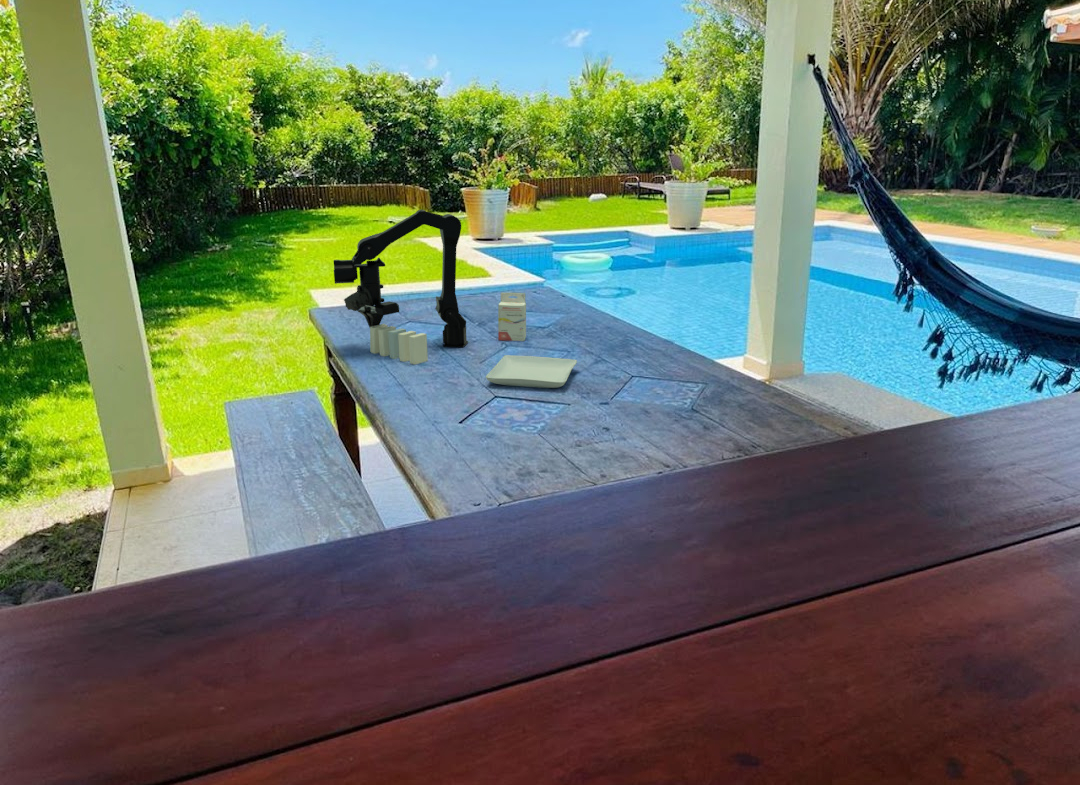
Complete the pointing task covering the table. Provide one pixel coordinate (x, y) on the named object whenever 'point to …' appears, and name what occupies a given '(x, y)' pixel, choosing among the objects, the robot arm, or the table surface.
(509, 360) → the salad plate
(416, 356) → the domino
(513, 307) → the ink cartridge box
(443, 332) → the robot arm
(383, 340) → the domino
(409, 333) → the domino
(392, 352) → the domino
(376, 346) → the domino
